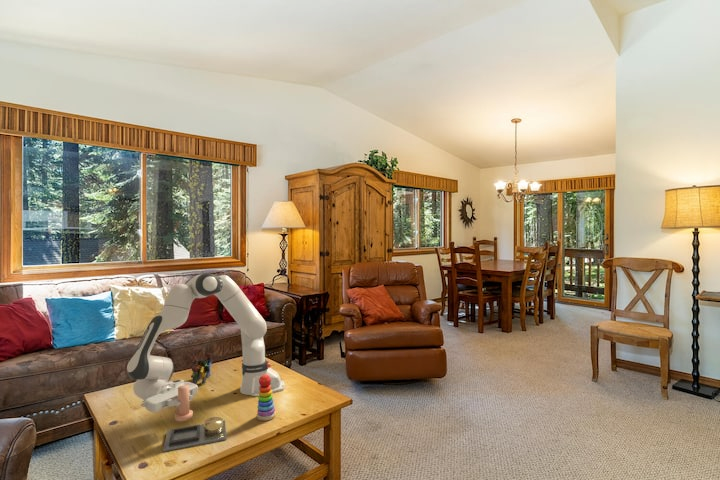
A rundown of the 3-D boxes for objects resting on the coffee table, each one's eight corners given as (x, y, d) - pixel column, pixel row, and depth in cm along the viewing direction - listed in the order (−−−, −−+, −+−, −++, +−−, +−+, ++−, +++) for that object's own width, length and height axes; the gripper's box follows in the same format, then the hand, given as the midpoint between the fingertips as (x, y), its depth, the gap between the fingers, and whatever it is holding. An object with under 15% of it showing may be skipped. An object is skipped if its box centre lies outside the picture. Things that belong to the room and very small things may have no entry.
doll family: (197, 374, 220) (197, 351, 220) (214, 372, 222) (214, 349, 222) (190, 390, 198) (189, 364, 197) (208, 388, 200) (208, 363, 199)
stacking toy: (258, 413, 173) (257, 371, 172) (276, 412, 173) (275, 370, 173) (255, 421, 165) (254, 378, 164) (274, 420, 165) (273, 377, 165)
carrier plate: (225, 423, 164) (224, 411, 164) (226, 439, 151) (225, 427, 151) (167, 433, 156) (167, 421, 156) (163, 451, 143) (163, 438, 143)
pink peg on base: (193, 412, 156) (192, 383, 156) (192, 419, 150) (192, 389, 150) (175, 415, 154) (175, 385, 153) (174, 422, 148) (173, 391, 147)
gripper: (138, 395, 149) (160, 403, 142) (185, 378, 167) (206, 384, 160) (138, 411, 149) (160, 420, 142) (185, 392, 167) (206, 399, 160)
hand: (185, 401), depth 151 cm, fingers closed on pink peg on base, 4 cm apart
